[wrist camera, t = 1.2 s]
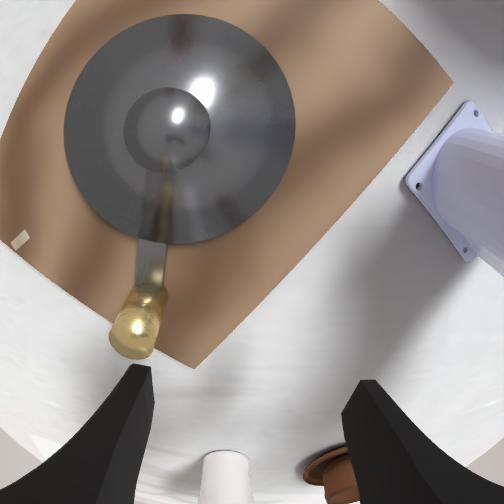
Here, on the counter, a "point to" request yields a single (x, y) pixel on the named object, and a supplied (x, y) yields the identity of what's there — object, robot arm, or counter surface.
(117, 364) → the counter surface
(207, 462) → the drinking glass
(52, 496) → the robot arm
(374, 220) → the counter surface
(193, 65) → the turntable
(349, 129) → the board
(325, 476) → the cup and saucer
